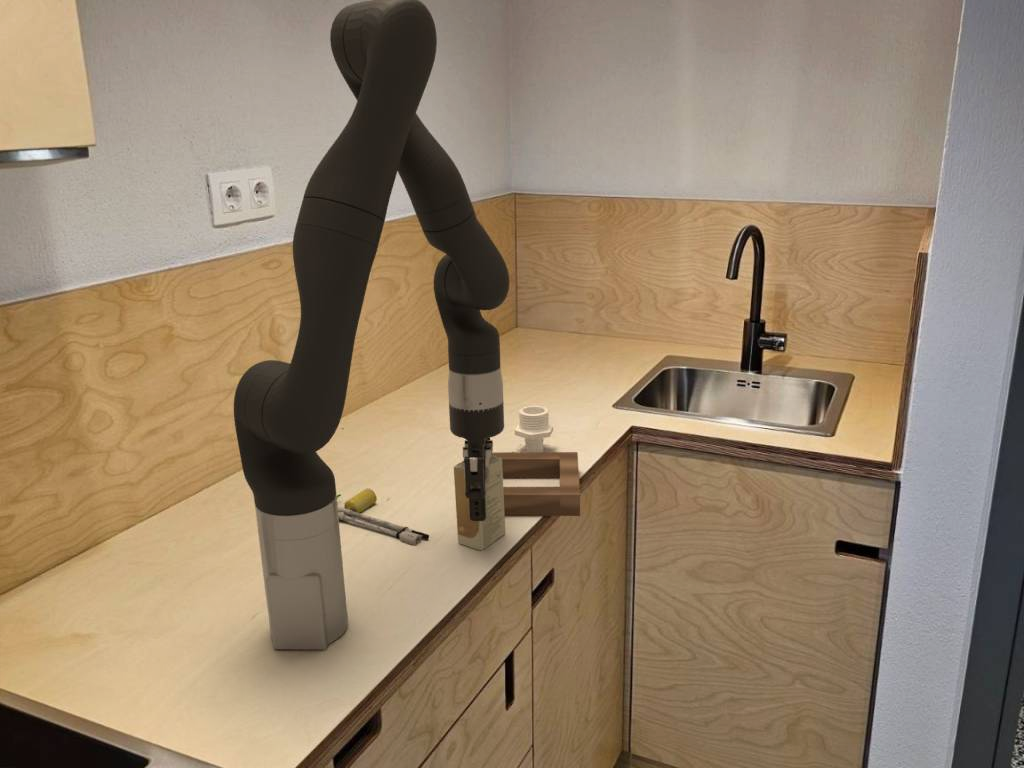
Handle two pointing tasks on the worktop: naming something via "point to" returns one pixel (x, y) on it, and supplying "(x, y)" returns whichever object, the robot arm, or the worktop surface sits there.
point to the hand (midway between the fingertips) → (480, 507)
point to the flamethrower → (365, 501)
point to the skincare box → (494, 524)
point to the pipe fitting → (534, 427)
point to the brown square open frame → (541, 498)
